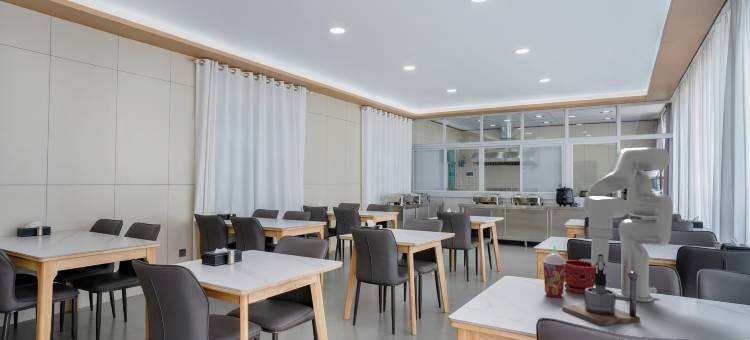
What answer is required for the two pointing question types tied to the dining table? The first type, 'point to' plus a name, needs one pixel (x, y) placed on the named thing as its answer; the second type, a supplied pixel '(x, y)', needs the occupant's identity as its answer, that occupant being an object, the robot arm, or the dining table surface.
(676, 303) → the dining table surface
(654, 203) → the robot arm
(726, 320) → the dining table surface
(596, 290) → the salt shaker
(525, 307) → the dining table surface
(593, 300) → the cup bracket
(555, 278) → the smoothie
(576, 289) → the plant pot
